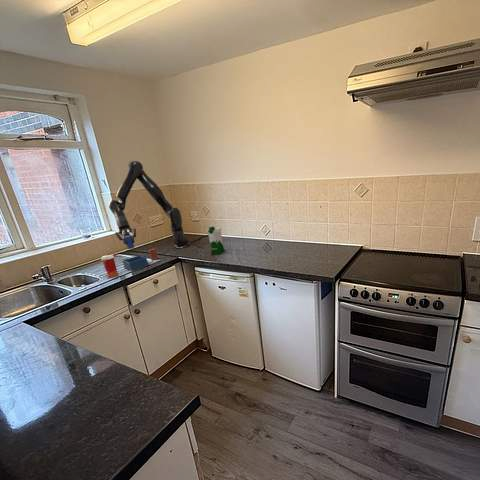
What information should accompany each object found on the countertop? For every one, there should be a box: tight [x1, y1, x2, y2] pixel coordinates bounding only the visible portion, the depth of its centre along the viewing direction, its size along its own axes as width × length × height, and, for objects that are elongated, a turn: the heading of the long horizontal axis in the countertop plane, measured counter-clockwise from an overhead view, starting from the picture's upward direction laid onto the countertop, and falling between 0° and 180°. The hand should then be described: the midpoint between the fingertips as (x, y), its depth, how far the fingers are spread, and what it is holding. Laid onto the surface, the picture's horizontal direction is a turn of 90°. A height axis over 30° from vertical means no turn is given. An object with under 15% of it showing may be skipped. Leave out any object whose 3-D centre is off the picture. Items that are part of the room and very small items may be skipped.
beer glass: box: [100, 254, 119, 278], centre depth 197 cm, size 8×8×14 cm
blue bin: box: [122, 255, 149, 271], centre depth 213 cm, size 12×12×6 cm
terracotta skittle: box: [149, 248, 158, 261], centre depth 224 cm, size 4×4×8 cm
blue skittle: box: [125, 236, 135, 250], centre depth 209 cm, size 4×4×8 cm
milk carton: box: [206, 226, 226, 255], centre depth 220 cm, size 9×9×20 cm
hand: (129, 242), depth 208 cm, fingers closed on blue skittle, 4 cm apart
